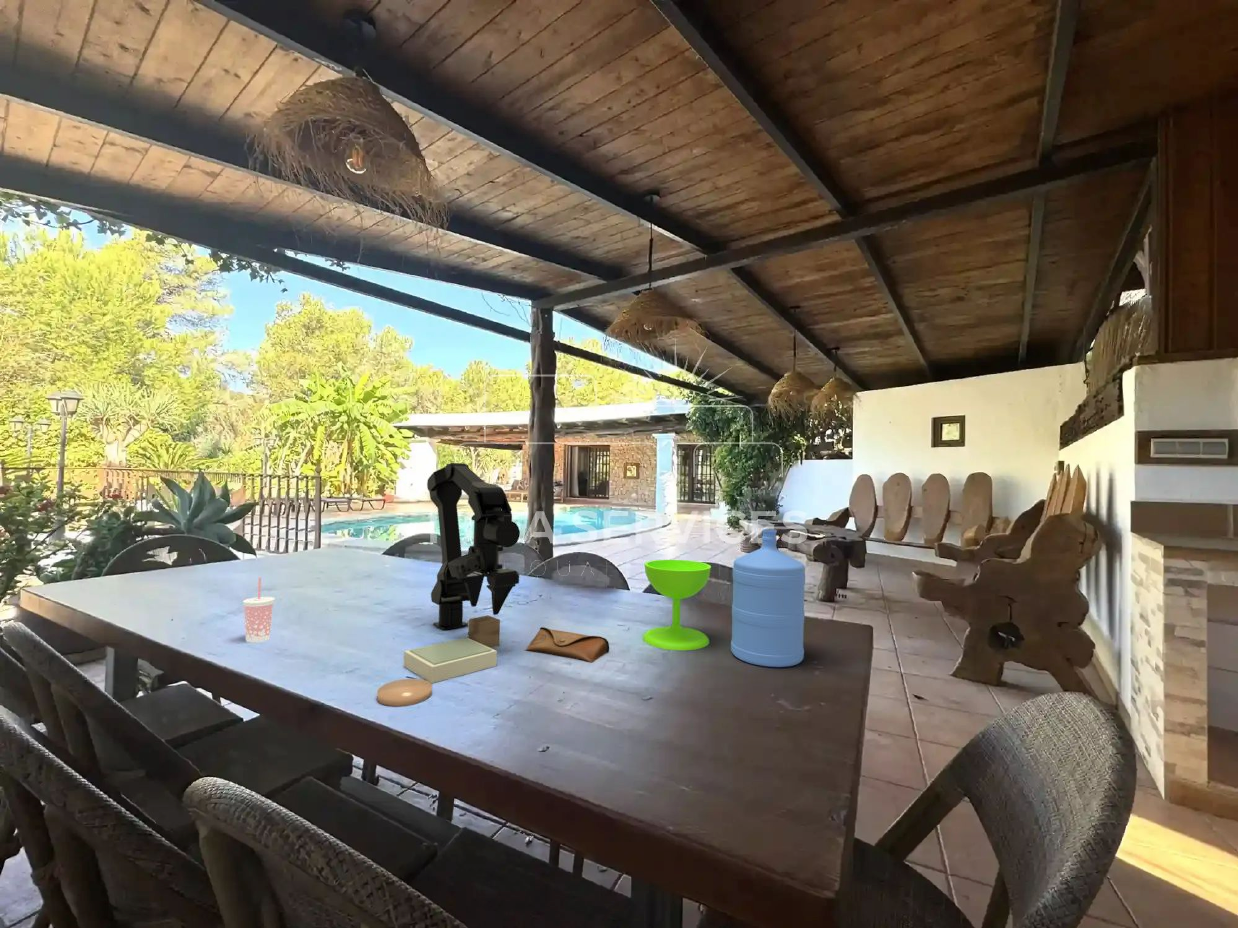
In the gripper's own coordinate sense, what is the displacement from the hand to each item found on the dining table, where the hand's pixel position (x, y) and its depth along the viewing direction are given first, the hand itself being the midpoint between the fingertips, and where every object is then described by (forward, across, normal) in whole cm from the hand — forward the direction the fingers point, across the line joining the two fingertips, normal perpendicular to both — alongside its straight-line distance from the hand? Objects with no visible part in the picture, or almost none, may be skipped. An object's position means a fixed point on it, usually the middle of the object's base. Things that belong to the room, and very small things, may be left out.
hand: (484, 610), depth 126 cm
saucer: (+8, +15, -25) cm, 30 cm away
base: (+8, +7, -12) cm, 16 cm away
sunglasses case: (+8, +15, +12) cm, 21 cm away
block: (+8, 0, 0) cm, 8 cm away
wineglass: (+8, +26, +37) cm, 46 cm away
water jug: (+8, +47, +43) cm, 64 cm away
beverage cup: (+8, -37, -36) cm, 52 cm away
